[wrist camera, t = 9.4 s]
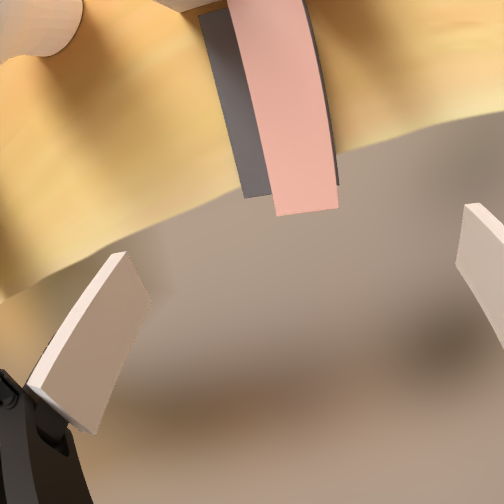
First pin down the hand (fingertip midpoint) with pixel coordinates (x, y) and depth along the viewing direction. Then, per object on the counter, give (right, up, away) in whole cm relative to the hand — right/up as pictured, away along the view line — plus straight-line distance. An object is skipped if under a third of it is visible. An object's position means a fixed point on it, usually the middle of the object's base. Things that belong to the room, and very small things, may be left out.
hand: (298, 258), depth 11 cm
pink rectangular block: (+1, +12, +9) cm, 15 cm away
